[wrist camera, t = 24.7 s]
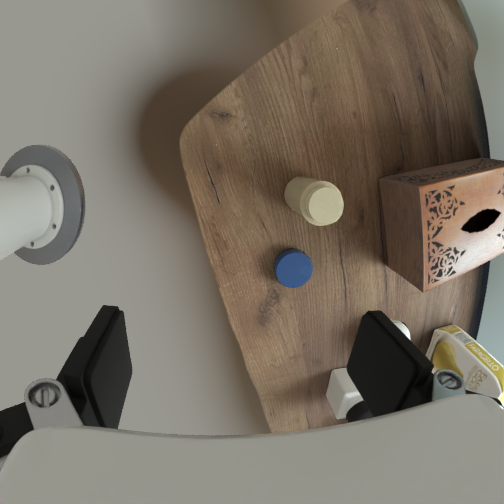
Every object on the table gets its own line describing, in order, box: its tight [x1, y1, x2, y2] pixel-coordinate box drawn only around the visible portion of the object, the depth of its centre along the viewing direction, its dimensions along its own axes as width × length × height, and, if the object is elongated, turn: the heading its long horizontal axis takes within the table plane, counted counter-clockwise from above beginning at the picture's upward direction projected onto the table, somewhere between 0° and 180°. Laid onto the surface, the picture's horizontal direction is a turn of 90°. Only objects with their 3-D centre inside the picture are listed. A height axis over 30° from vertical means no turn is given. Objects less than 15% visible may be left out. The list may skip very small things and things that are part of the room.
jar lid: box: [274, 249, 313, 288], centre depth 41 cm, size 5×5×2 cm
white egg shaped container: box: [391, 320, 411, 340], centre depth 44 cm, size 10×7×7 cm
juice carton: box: [426, 325, 504, 406], centre depth 40 cm, size 9×8×24 cm
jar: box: [284, 176, 344, 226], centre depth 34 cm, size 5×5×9 cm
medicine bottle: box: [326, 367, 374, 423], centre depth 45 cm, size 7×7×12 cm
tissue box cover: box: [378, 158, 504, 293], centre depth 37 cm, size 26×14×10 cm, turn 105°
